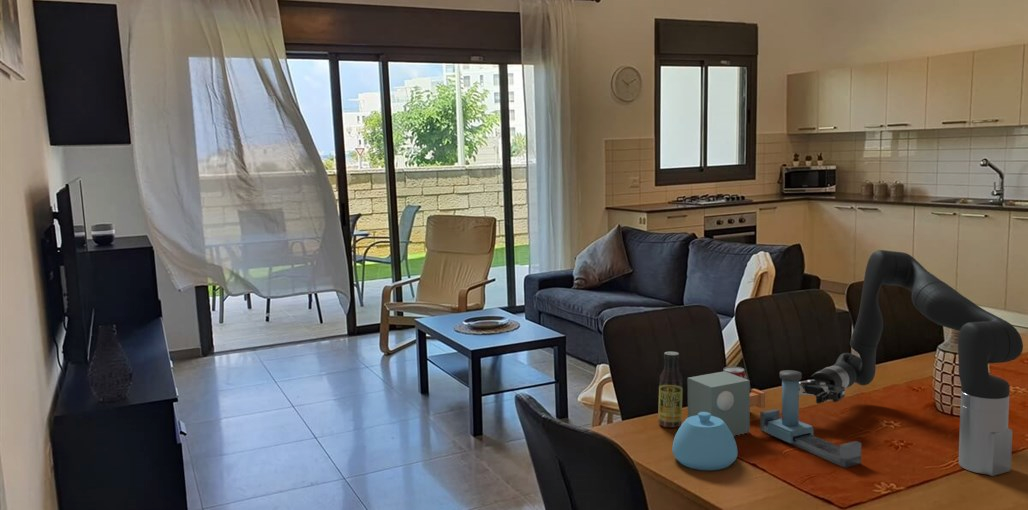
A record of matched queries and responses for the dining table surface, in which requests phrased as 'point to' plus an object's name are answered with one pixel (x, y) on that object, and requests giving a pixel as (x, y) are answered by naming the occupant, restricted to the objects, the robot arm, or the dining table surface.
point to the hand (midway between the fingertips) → (801, 396)
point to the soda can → (736, 371)
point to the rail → (818, 444)
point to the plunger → (757, 398)
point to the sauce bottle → (670, 392)
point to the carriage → (789, 410)
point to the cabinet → (721, 399)
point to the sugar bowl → (704, 443)
